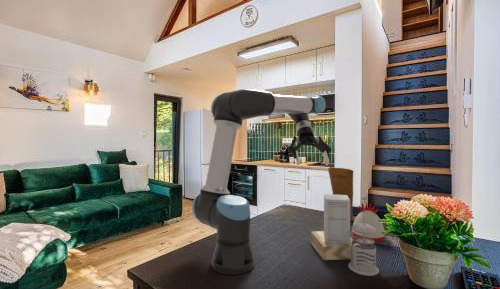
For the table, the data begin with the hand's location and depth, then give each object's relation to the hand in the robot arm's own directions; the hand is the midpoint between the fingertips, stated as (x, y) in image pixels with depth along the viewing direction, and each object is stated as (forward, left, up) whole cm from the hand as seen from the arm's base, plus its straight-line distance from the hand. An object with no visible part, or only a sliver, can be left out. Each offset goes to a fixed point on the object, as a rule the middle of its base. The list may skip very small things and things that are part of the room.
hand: (313, 163), depth 115 cm
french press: (+7, -29, -33) cm, 45 cm away
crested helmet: (+26, -1, -34) cm, 42 cm away
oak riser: (+4, -15, -33) cm, 37 cm away
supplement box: (+4, -16, -28) cm, 33 cm away
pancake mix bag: (+26, +27, -34) cm, 50 cm away
